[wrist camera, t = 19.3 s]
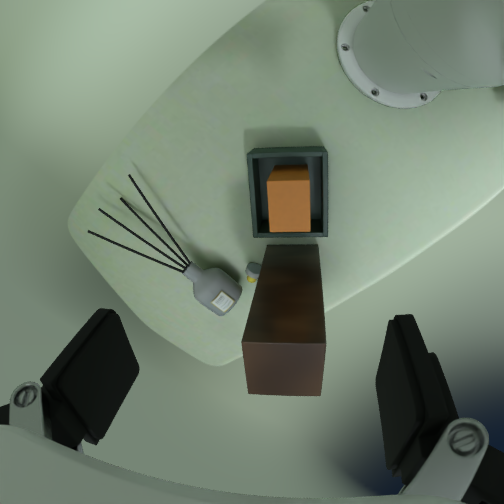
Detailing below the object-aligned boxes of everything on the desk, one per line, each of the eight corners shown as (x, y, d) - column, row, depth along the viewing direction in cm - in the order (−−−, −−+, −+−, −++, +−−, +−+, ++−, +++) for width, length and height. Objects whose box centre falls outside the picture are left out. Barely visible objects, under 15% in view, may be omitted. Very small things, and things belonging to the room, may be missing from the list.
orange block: (307, 164, 32) (309, 180, 25) (308, 204, 34) (310, 231, 26) (274, 165, 32) (266, 181, 25) (276, 205, 34) (269, 232, 27)
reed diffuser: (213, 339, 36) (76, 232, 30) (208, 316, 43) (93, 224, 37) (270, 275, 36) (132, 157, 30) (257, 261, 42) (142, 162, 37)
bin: (324, 146, 31) (327, 151, 27) (325, 221, 35) (328, 237, 31) (253, 148, 32) (246, 153, 28) (258, 222, 36) (253, 237, 32)
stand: (318, 244, 36) (326, 343, 21) (317, 288, 38) (320, 396, 23) (266, 244, 37) (241, 341, 22) (269, 288, 39) (248, 394, 24)
